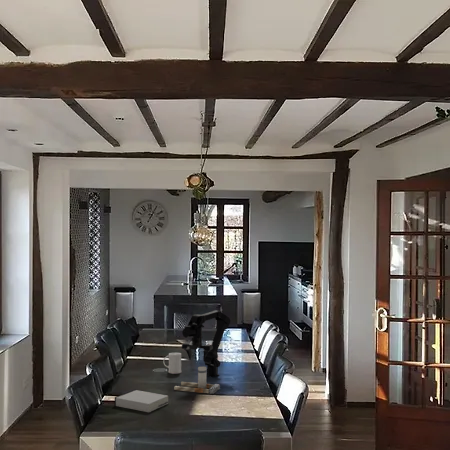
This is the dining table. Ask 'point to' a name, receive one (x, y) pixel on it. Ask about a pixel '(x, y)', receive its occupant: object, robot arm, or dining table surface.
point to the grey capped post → (202, 377)
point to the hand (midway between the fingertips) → (197, 360)
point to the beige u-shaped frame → (201, 390)
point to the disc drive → (141, 400)
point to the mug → (174, 363)
